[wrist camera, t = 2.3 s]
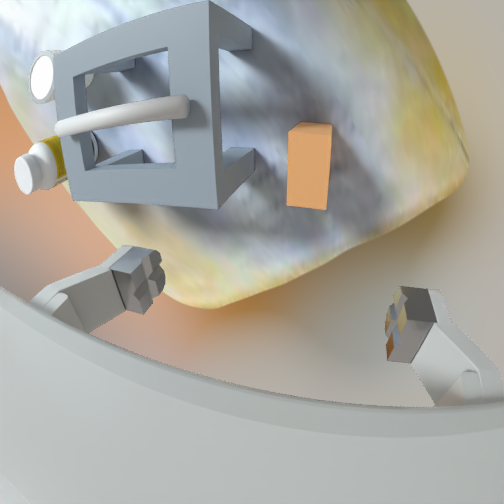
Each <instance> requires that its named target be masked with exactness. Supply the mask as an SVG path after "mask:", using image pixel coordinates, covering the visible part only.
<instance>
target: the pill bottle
mask: <svg viewBox="0 0 504 504" xmlns="http://www.w3.org/2000/svg"><path fill="white" fill-rule="evenodd" d="M90 133H91V140H92V147H93V153H94V159H95V162H96V159H97V156H98V146H97V142H96V139H95V137H94V135H93V134H92V132H91V131H90ZM14 171H15V177H16V181H17V184H18V185H19V188H20V189H21V190H22V192H24V193H25V194H30V193H32V192H34V191H36V190H37V189H38V188H39V189H41V190H49V189H51V188H53V187H55V186H57V185H58V184H60V183H62V182H64V181H66V180H68V178H67V173H66V168H65V163H64V158H63V152H62V147H61V141H60V137H58V136H57V135H56V136H53V137H51V138H48V139H45V140H43V141H40V142H38V143H36V144H35V145H33V146H32V147H31V149H30V151H29V153H28V154H24V155H23V156H20V157H19V158H17V160H16V162H15V167H14Z"/></svg>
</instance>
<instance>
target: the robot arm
mask: <svg viewBox="0 0 504 504" xmlns="http://www.w3.org/2000/svg"><path fill="white" fill-rule="evenodd" d="M161 261H162V259H161V256H160V253H159V252H158V251H157V250H152V249H146V248H141V247H135V246H130V245H123V246H121V247H120V248H119V249H118V250H117V251H115V252H114V253H113V254H112V255H111V256H110V257H109V258H108V259H106V260H105V261H104V262H103V263H102V264H101V265H100V266H99V267H98V266H95V267H92V268H89V269H87V270H84V271H82V272H79V273H77V274H74V275H72V276H69V277H67V278H64V279H62V280H59V281H57V282H54V283H52V284H49V285H47V286H46V287H45V288H44V289H43V290H42V291H40V293H38V294H37V295H36V296H35V297H34V298H33V299H32V300H31V301H30V302H29V303H27V302H26V301H24V300H22V299H21V298H19V297H17V296H15V295H14V294H12V293H10V292H9V291H7V290H6V289H4V288H2V287H1V286H0V504H504V383H503V379H502V376H501V372H500V370H499V368H498V367H497V366H496V365H495V364H494V363H493V362H492V361H491V360H490V359H489V357H487V356H486V354H484V352H483V351H482V350H481V349H480V348H479V347H478V346H477V345H476V344H475V343H474V342H473V341H472V340H471V339H470V338H469V337H468V336H467V335H466V334H465V333H464V332H463V331H462V330H461V329H460V328H459V327H458V326H457V325H454V324H452V322H451V318H450V315H449V313H448V310H447V307H446V304H445V301H444V298H443V295H442V293H441V291H440V290H438V289H427V288H426V289H422V288H414V287H405V286H397V288H396V289H395V292H394V295H393V297H394V303H393V304H392V305H390V307H389V309H388V312H387V315H386V321H385V334H386V336H387V337H388V338H389V339H388V342H387V344H386V349H387V350H386V351H387V361H393V362H402V363H411V366H412V367H413V369H414V371H415V372H416V374H417V375H418V377H419V378H420V380H421V382H422V383H423V385H424V387H425V388H426V390H427V392H428V393H429V395H430V396H431V398H432V400H433V401H434V403H435V406H434V407H397V406H395V407H394V406H377V405H362V404H351V403H341V402H333V401H325V400H317V399H311V398H303V397H297V396H292V395H286V394H280V393H275V392H270V391H265V390H260V389H256V388H251V387H247V386H242V385H238V384H234V383H230V382H226V381H222V380H218V379H214V378H211V377H207V376H204V375H200V374H197V373H193V372H190V371H187V370H183V369H180V368H177V367H174V366H171V365H168V364H165V363H162V362H159V361H156V360H153V359H151V358H148V357H145V356H142V355H140V354H137V353H134V352H132V351H129V350H126V349H123V348H121V347H119V346H116V345H114V344H111V343H109V342H107V341H104V340H102V339H100V338H97V337H95V336H93V335H91V334H88V333H90V332H91V331H93V330H95V329H96V328H98V327H100V326H101V325H103V324H105V323H106V322H108V321H110V320H111V319H113V318H114V317H116V316H118V315H120V314H121V313H123V312H124V311H126V310H128V311H132V312H136V313H140V314H145V312H146V311H147V310H148V309H149V307H150V306H151V304H153V298H154V297H156V296H158V295H159V294H160V293H161V292H162V291H163V288H164V285H165V273H164V270H163V269H162V268H161V266H160V263H161Z"/></svg>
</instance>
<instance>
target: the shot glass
mask: <svg viewBox="0 0 504 504" xmlns="http://www.w3.org/2000/svg"><path fill="white" fill-rule="evenodd" d="M61 52H63V51H62V50H46V51H42V52H41V53H39V54H38V55H37V56H36V58H35V59H34V61H33V63H32V65H31V68H30V72H29V78H28V87H29V93H30V96H31V98H32V100H33V101H34V102H35V103H37V104H44V103H47V102H49V101H52V100H55V89H54V72H53V57H54V56H56V55H58V54H59V53H61ZM93 77H94V74H88V75H85V85H86V88H87V87H88V86H89V85H90V83H91V82H92V80H93Z"/></svg>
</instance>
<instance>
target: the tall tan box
mask: <svg viewBox="0 0 504 504" xmlns="http://www.w3.org/2000/svg"><path fill="white" fill-rule="evenodd" d="M331 142H332V124H323V123H312V122H299V123H298V124H297V125H296V126H295V127H294V128H292V129H291V130H290V131H289V132H288V172H287V204H286V206H296V207H305V208H313V209H322V210H326V205H327V195H328V184H329V172H330V158H331Z"/></svg>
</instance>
